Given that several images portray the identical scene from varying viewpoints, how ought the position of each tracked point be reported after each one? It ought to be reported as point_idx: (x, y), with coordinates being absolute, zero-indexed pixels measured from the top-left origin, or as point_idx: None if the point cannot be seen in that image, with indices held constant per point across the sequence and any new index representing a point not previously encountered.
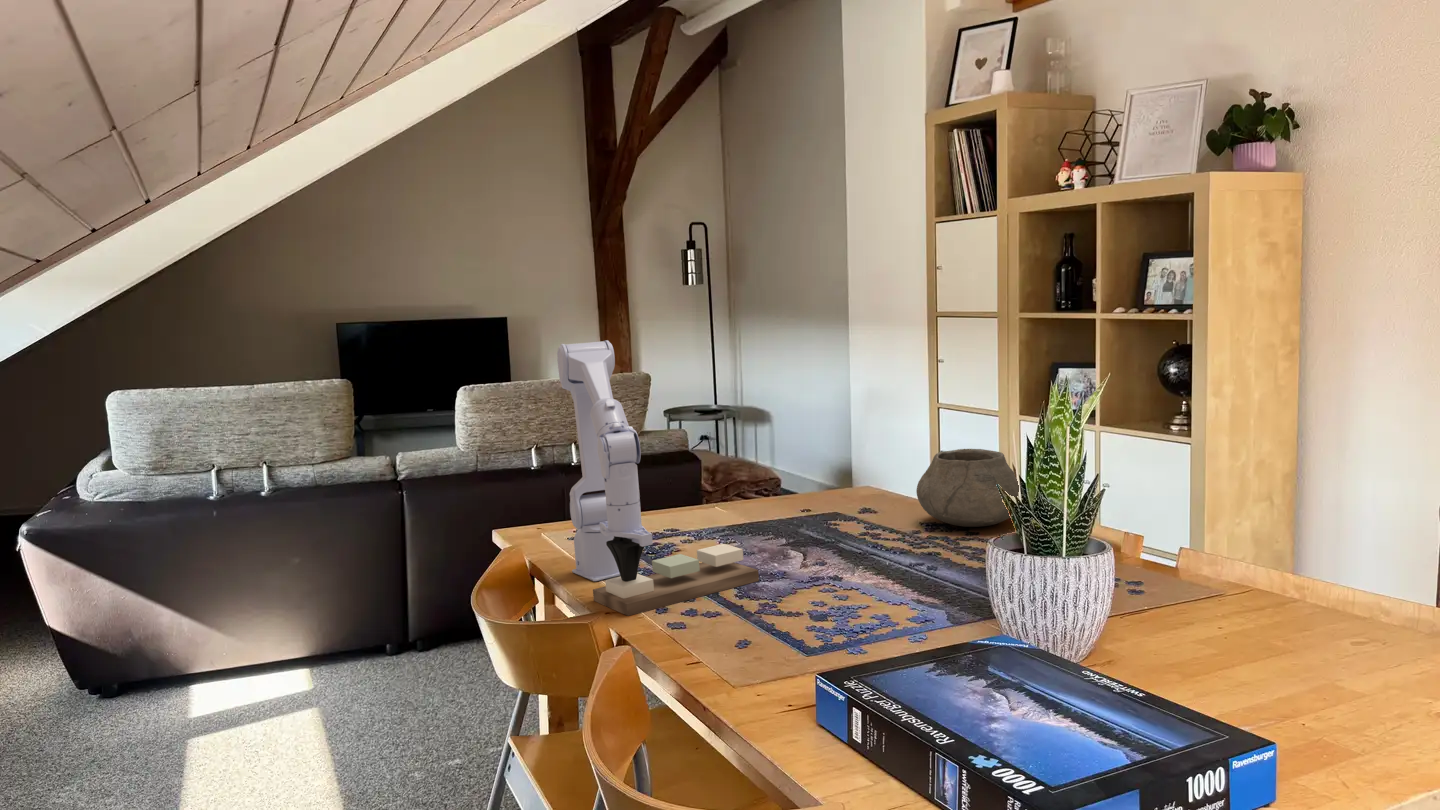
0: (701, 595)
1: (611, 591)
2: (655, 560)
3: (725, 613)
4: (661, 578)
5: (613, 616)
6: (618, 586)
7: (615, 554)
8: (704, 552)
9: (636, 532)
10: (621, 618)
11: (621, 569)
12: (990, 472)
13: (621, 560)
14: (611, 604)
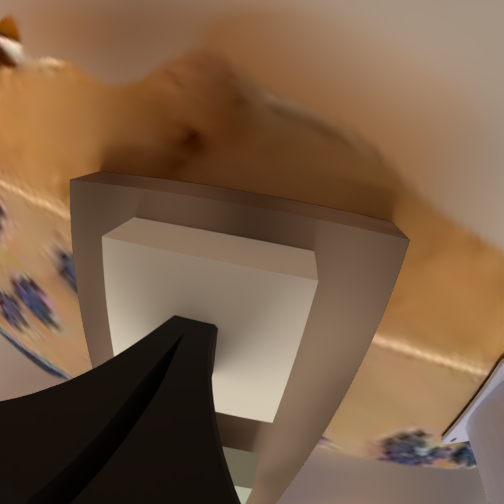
0: None
1: (251, 244)
2: (241, 491)
3: (6, 325)
4: (250, 442)
5: (136, 131)
6: (145, 242)
7: (140, 444)
8: None
9: None
10: (97, 139)
11: (156, 354)
12: None
13: (81, 385)
14: (216, 190)
